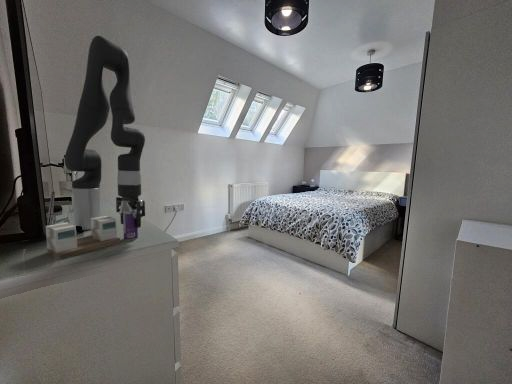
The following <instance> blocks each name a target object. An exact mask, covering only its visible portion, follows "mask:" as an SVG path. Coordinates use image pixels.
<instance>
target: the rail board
mask: <svg viewBox="0 0 512 384" xmlns="http://www.w3.org/2000/svg"><path fill="white" fill-rule="evenodd" d="M45 233H46V234H45V235H46V236H45V237H46V251H47V254H50V256H53V257H55V258H57V259H59V260H64V259H67V258H71V257H74V256H79V255H81V254H85V253H89V252H93V251H96V250H99V249H102V248H103V249H104V248H107V247H109V246H110V247H111V246H113V245H117V244H120V243H121V238H120V237H118V235H117V234H118V233H117V218H116V217H112V216H108V215H104V216H102V215H101V217H96V218H91V229H90V233H91V234H89V235H86V236H80V237H77V230H76V226H74V224H71V223H68V222H64V223H63V222H61V223H56V224H50V225H45Z"/></svg>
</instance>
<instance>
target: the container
mask: <svg viewBox="0 0 512 384" xmlns="http://www.w3.org/2000/svg"><path fill="white" fill-rule="evenodd" d="M127 202H129V203H130V201H128V200H123V224H122V225H123V226H122V227H123V228H122V229H123V241H125V242H126V241H134V240H138V238H139V228H134V216H133V214H132V213H130V210H129V208H128V207H127ZM136 209H137V208H136ZM136 209H134V210H136ZM136 215H137V212H136Z"/></svg>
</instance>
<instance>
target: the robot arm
mask: <svg viewBox="0 0 512 384" xmlns="http://www.w3.org/2000/svg"><path fill="white" fill-rule="evenodd" d="M86 63H87V64H86V72H85V79H84V83H83V88H82V92H81V96H80V100H79V102H78V109H77V113H76V118H75V123H74V127H73V131H72V133H71V134H72V135H71V137H70V139H69V142H68V144H67V145H68V146H67V148H66V151H65V155H64V165H65V167H66V169H67V170H68V171H70V172H78V173H79V172H84V174H83V175H81V177H79V178H77V179H75V180H73V181H71V195H72V209H73V211H72V213H73V225H75V226H81V227H82V230H81V231H87V230H91V218H96V217H102V212H101V211H102V209H101V208H102V207H101V205H102V204H101V181H102V168H103V167H102V166H103V165H102V157H101V155H100V153H99V152H98V151H97V150H94V149H86V148H87V145H88V143H89V142H90V141H91V139H92V138H93V137H94V136H95V135H96V134H97V133H98V132H100V131H101V130H102V129H103V128H104V127H105V125H106V124H107V121H108V118H109V113H110V111H111V116H112V117H111V119H112V121H111V131H110V140H111V141H112V144H114V145H115V146H117V147H118V148H130V151H129V152H128V153H121V154H119V155H118V156H117V176H116V177H117V178H116V179H117V180H116V181H117V195H118V196H117V197H116V198H115V206H116V207H115V209H116V210H115V211H116V213H118V214H119V217H120V224H121V225H123V200H128V201H130V203H129V202H127V207H128V208H129V210H130V213H132V214H133V216H134V228H138V229H140V228H141V227H142V226H141V225H142V220H141V219H142V217H145V216H146V203H145V200H140V199H139V197H140V196H142V175H141V157H142V154H143V149H144V147H145V143H146V142H145V141H146V137H145V135H144V133H143V131H142V130H140V129H138V128H134V127H133V128H132V127H126V126H124V125H131V124H133V123H134V122H135V121H136V116H135V111H134V106H133V101H132V95H131V94H132V93H131V72H130V71H131V70H130V60H129V55H128V53H127V51H126V50H125V49H123V48H122V47H121V46H119V45H117V44H115V43H114V42H112V41H110V40H109V39H107V38H105V37H103V36H101V35H96V36H94V37H93V38H92V39H91V41H90V44H89V49H88V54H87V62H86ZM104 69H107V70H108V71H111V72H113V73H114V74H115V76H116V83H115V85H114V87H113V88H112V90H111V92H110V94H109V99H108V95H107V93H106V91H105V87H104V83H103V71H104ZM136 208H137V209H136ZM134 209H136V210H134ZM136 212H137V215H136Z"/></svg>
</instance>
